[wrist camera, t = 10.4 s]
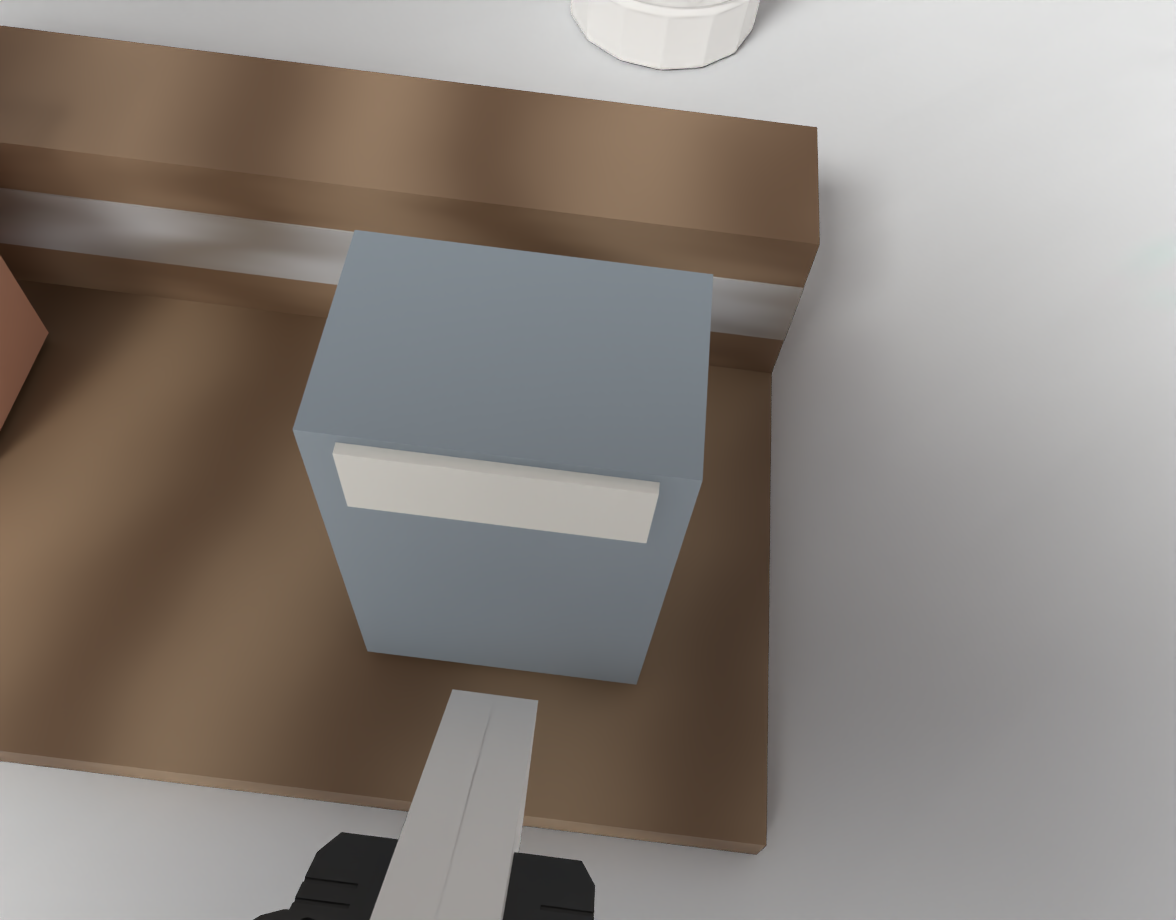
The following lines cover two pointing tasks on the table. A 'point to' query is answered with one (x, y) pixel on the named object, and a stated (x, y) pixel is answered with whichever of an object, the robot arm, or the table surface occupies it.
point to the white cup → (666, 29)
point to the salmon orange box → (16, 339)
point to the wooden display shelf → (273, 396)
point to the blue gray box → (507, 450)
